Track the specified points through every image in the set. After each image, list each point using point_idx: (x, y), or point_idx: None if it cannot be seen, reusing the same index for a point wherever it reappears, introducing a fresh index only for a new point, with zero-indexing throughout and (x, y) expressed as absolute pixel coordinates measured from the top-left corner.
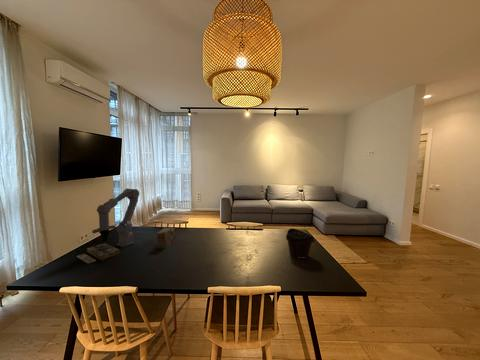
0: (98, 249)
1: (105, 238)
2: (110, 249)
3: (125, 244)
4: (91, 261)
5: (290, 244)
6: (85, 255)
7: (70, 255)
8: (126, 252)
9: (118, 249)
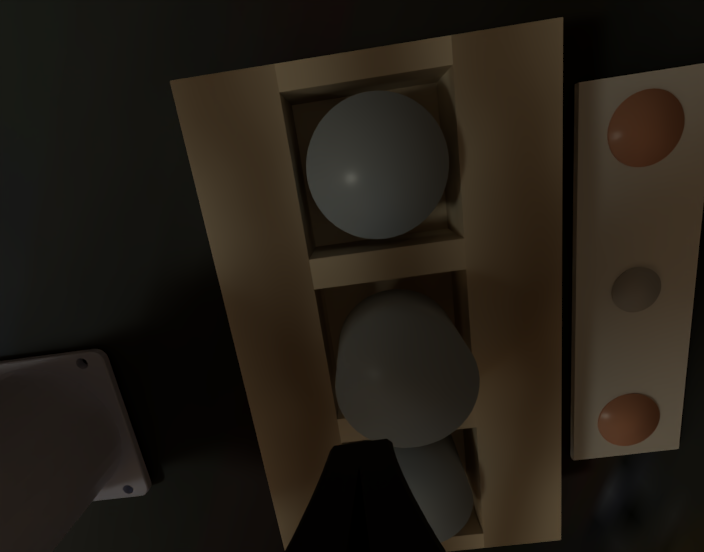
0: None
1: (369, 493)
2: (321, 175)
3: (31, 377)
4: (653, 87)
5: None
6: (595, 395)
7: (692, 526)
8: (92, 66)
9: (182, 106)
